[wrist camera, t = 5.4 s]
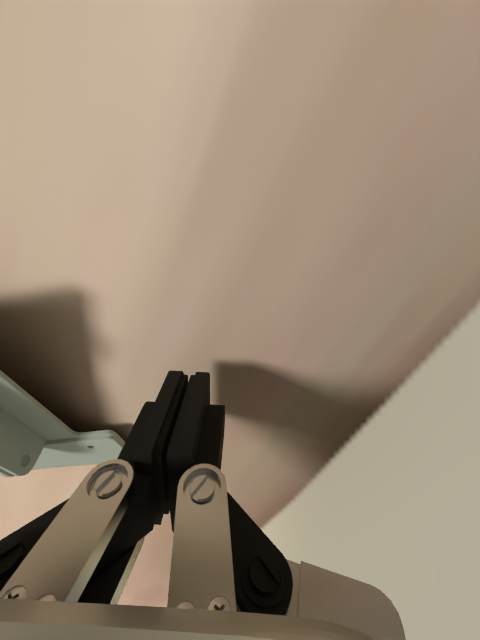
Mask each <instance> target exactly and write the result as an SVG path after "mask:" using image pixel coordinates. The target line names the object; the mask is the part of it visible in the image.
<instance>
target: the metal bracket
mask: <svg viewBox="0 0 480 640" xmlns="http://www.w3.org/2000/svg"><path fill="white" fill-rule="evenodd" d="M124 444H125V441H124V440H123V439H122V438H121V437H120V436H119V435H118V434H117V433H116V432H114V431H111V430H101V431H92V432H75V431H73V430H72V429H70V428H69V427H68V426H67V425H66V424H64V423H63V422H62V421H61V420H60V419H58V418H57V417H56V416H55V415H54V414H52V413H51V412H50V411H49V410H48V409H46V408H45V407H44V406H43V405H42V404H40V403H39V402H38V401H37V400H36V399H34V398H33V397H32V396H31V395H29V394H28V393H27V392H26V391H25V390H23V389H22V388H21V387H20V386H19V385H17V384H16V383H15V382H14V381H13V380H11V379H10V378H9V377H8V376H7V375H5V374H4V373H3V372H2V371H1V370H0V474H1V475H3V476H5V477H12V476H22V475H26V474H27V473H29V472H30V471H31V470H34V469H45V468H56V467H66V466H77V465H90V464H101V463H103V462H105V461H108V460H113V459H117V458H118V456H119V454H120V452H121V450H122V448H123V446H124Z"/></svg>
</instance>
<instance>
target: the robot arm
mask: <svg viewBox="0 0 480 640" xmlns="http://www.w3.org/2000/svg"><path fill="white" fill-rule="evenodd" d="M224 425H225V405H210V373H208V372H196V374H195V375H191V376H190V380H189V383H188V375H184V373H183V371H169V372H168V374H167V376H166V379H165V381H164V383H163V385H162V388H161V390H160V392H159V394H158V396H157V399H156V401H155V402H146V403H145V404H144V406H143V408H142V410H141V412H140V414H139V416H138V418H137V420H136V422H135V424H134V426H133V428H132V430H131V432H130V434H129V436H128V438H127V440H126V442H125V444H124V446H123V448H122V450H121V452H120V454H119V456H118V458H117V459H113V460H108V461H105V462H103V463H101V464H99V465H98V466H96V467H95V468H93V469H92V470H91V471H90V472H89V473H88V474H87V475H86V477H85V478H84V479H83V481H82V482H81V483H80V485H79V486H78V488H77V489H76V490H75V492H74V493H73V494H72V496H71V497H70V498H69V499H67V500H66V501H64V502H63V503H61V504H59V505H58V506H56V507H54V508H53V509H51V510H49V511H48V512H46V513H44V514H43V515H41V516H40V517H38V518H36V519H35V520H33V521H31V522H30V523H28V524H26V525H25V526H23V527H21V528H20V529H18V530H17V531H15V532H13V533H12V534H10V535H8V536H7V537H5V538H3V539H2V540H1V541H0V640H406V639H405V634H404V629H403V625H402V622H401V619H400V616H399V614H398V612H397V610H396V608H395V607H394V605H393V604H392V602H391V600H390V599H389V598H387V596H386V595H385V594H384V593H383V592H381V591H380V590H379V589H377V588H375V587H374V586H372V585H369V584H366V583H363V582H361V581H358V580H355V579H352V578H349V577H346V576H343V575H340V574H337V573H335V572H331V571H328V570H326V569H323V568H320V567H317V566H314V565H311V564H308V563H306V562H303V561H301V563H300V564H298V563H295V562H292V561H290V560H287V559H285V557H284V556H283V554H282V553H281V552H280V551H279V550H278V549H277V547H276V546H275V545H274V544H273V543H272V542H271V541H270V539H269V538H268V537H267V536H266V535H265V534H264V533H263V532H262V530H261V529H260V528H259V527H258V526H257V525H256V524H255V522H254V521H253V520H252V519H251V518H250V517H249V516H248V515H247V513H246V512H245V511H244V510H243V509H242V508H241V507H240V505H239V504H238V503H237V502H236V501H235V500H234V499H233V498H232V496H231V495H230V494H229V493H228V492H227V487H226V480H225V476H224V475H223V473H222V472H221V460H222V450H223V439H224ZM169 511H170V514H171V523H172V531H173V533H174V535H173V547H172V558H171V570H170V581H169V593H168V604H167V607H150V606H132V605H117V603H118V601H119V599H120V596H121V594H122V592H123V589H124V587H125V585H126V582H127V580H128V578H129V575H130V573H131V571H132V568H133V566H134V564H135V561H136V559H137V557H138V554H139V552H140V550H141V547H142V545H143V541H144V537H145V535H147V534H148V533H149V532H150V531H152V530H153V527H154V524H158V525H161V521H162V517H163V514H168V513H169Z"/></svg>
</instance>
